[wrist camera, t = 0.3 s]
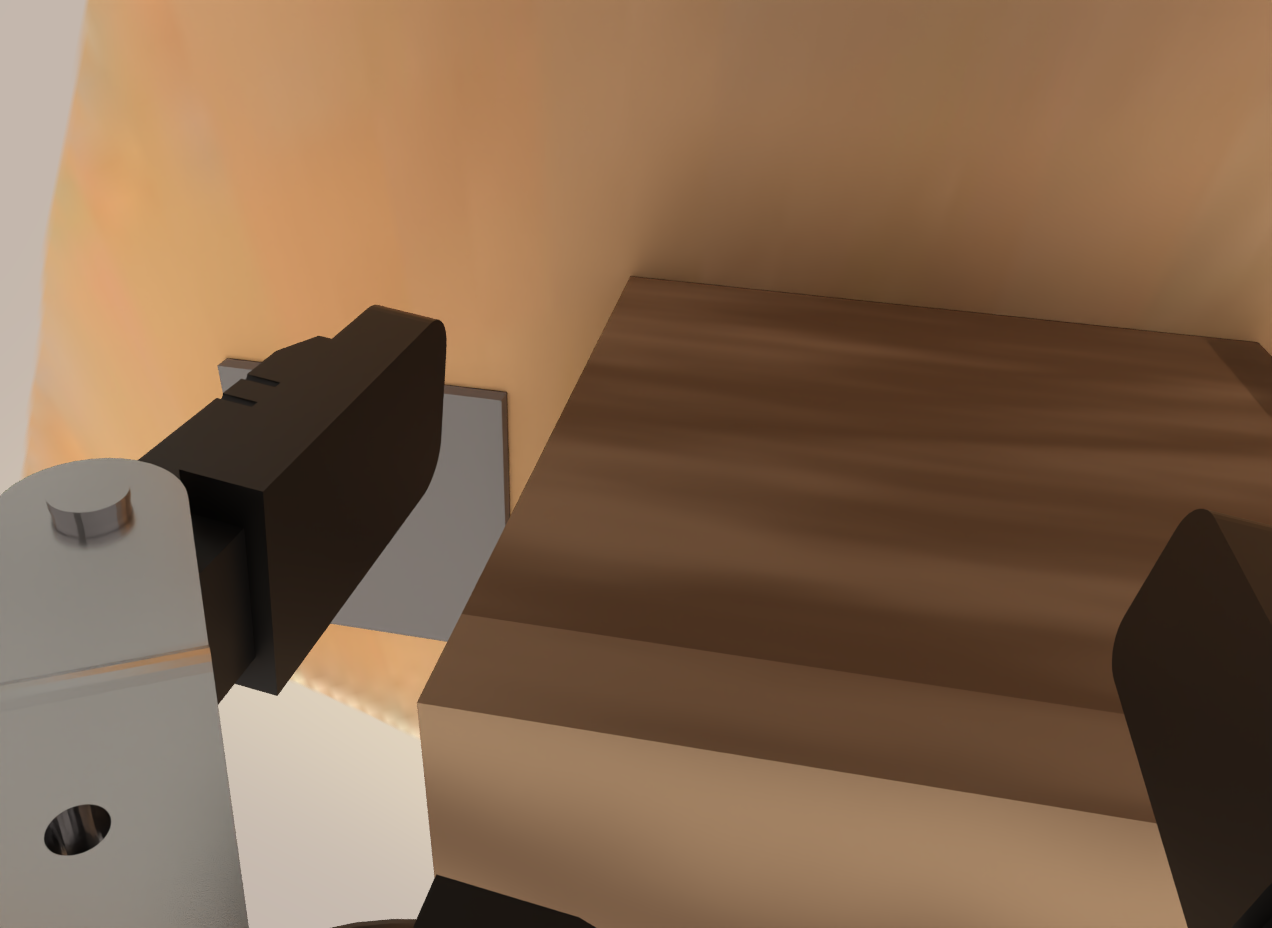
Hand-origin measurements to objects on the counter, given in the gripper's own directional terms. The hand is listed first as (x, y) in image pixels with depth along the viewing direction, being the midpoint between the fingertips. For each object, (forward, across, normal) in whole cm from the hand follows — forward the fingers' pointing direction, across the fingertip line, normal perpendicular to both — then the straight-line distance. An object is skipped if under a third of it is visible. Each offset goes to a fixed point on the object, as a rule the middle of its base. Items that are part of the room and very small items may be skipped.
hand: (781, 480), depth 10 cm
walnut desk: (+18, -5, +15) cm, 24 cm away
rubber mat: (+18, +13, +17) cm, 27 cm away
